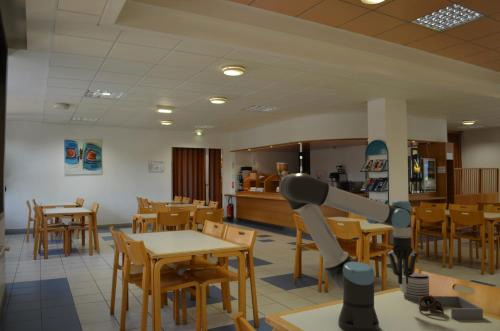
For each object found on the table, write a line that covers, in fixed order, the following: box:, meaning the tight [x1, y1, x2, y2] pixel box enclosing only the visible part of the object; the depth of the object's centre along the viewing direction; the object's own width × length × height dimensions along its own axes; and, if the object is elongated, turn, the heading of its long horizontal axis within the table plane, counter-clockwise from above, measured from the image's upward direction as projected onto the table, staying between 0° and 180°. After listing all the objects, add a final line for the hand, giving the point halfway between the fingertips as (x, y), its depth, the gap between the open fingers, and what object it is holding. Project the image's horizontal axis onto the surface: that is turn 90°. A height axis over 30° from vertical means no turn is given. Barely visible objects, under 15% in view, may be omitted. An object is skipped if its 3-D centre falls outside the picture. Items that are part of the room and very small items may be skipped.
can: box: [403, 272, 430, 304], centre depth 188 cm, size 11×11×12 cm
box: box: [431, 295, 484, 320], centre depth 170 cm, size 12×18×4 cm
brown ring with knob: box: [418, 294, 445, 315], centre depth 170 cm, size 12×10×8 cm
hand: (403, 291), depth 170 cm, fingers closed
